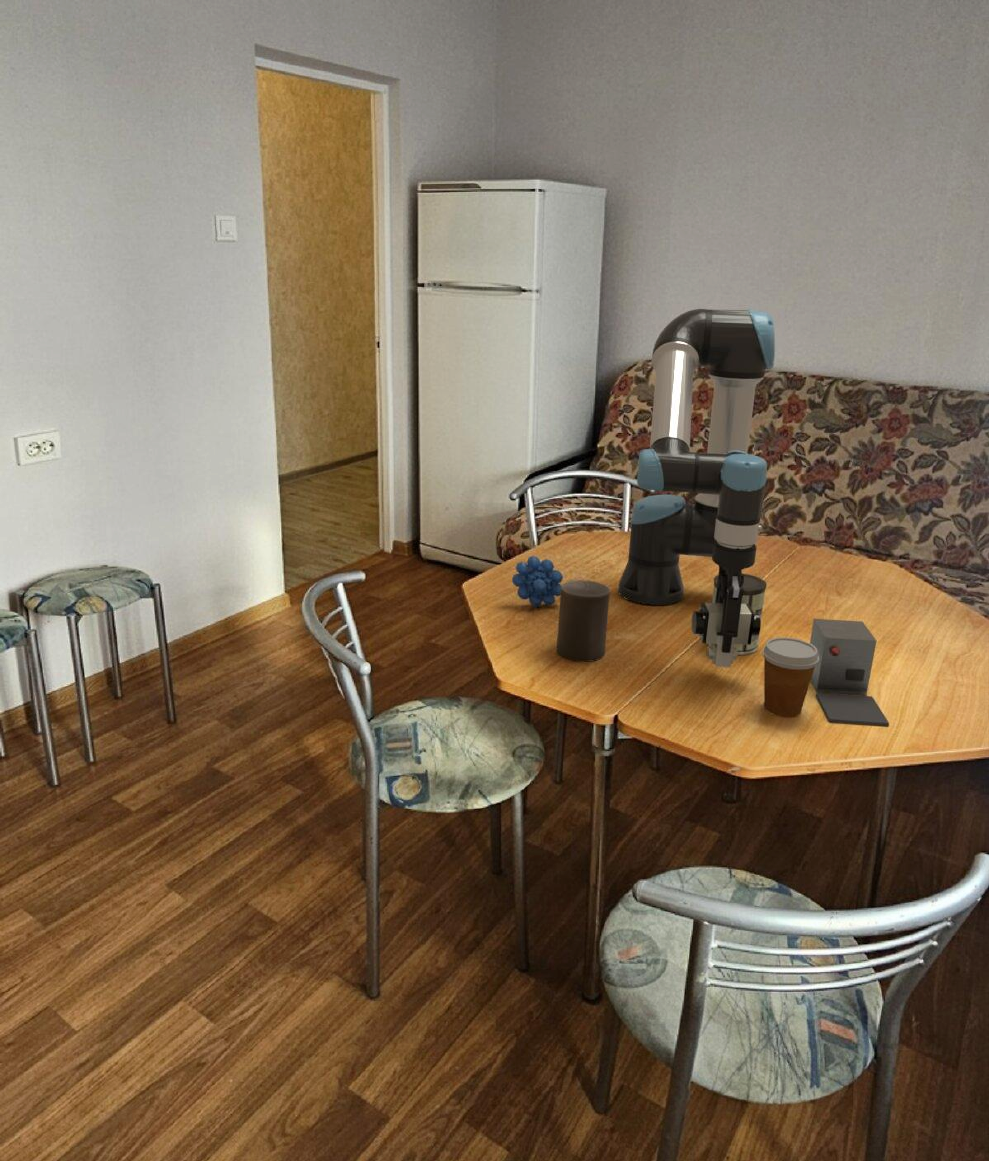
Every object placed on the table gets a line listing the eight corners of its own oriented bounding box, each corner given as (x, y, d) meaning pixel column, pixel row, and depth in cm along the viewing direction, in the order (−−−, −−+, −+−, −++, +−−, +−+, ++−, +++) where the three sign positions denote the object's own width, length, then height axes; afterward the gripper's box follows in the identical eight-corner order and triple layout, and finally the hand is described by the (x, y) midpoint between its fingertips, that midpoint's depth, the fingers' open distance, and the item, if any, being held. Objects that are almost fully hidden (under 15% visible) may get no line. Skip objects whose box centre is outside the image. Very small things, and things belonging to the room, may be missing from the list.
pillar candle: (575, 665, 175) (581, 593, 170) (546, 647, 183) (551, 577, 178) (614, 656, 180) (621, 585, 175) (585, 638, 188) (590, 570, 183)
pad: (829, 722, 157) (829, 719, 156) (815, 695, 166) (815, 692, 166) (888, 726, 156) (889, 723, 155) (871, 699, 165) (872, 696, 165)
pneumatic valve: (755, 667, 168) (763, 608, 163) (692, 666, 168) (698, 606, 163) (748, 654, 173) (756, 596, 168) (686, 652, 173) (693, 595, 169)
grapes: (513, 614, 199) (515, 562, 195) (509, 602, 206) (511, 552, 201) (565, 613, 200) (568, 562, 196) (560, 602, 207) (563, 552, 203)
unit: (817, 693, 167) (826, 638, 163) (805, 670, 176) (813, 618, 172) (867, 696, 166) (877, 642, 162) (852, 673, 175) (862, 620, 171)
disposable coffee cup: (747, 712, 159) (756, 650, 155) (763, 691, 167) (771, 632, 163) (802, 727, 155) (813, 664, 150) (816, 705, 162) (826, 644, 158)
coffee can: (709, 632, 193) (716, 569, 188) (759, 639, 190) (768, 576, 185) (703, 650, 183) (711, 585, 179) (756, 658, 180) (765, 593, 176)
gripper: (765, 560, 153) (748, 682, 161) (748, 527, 170) (733, 639, 178) (720, 558, 153) (706, 680, 162) (707, 525, 170) (695, 637, 179)
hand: (720, 658), depth 170 cm, fingers closed on pneumatic valve, 5 cm apart
